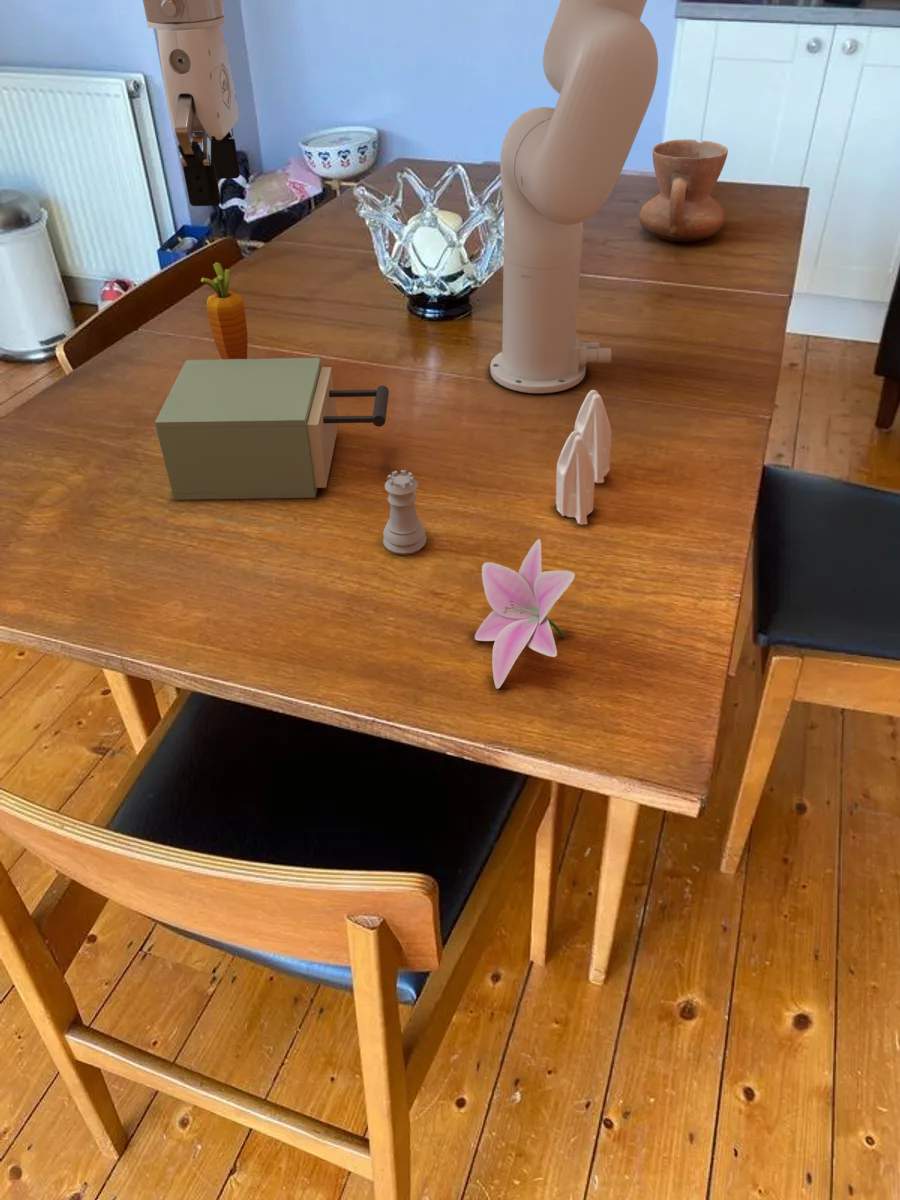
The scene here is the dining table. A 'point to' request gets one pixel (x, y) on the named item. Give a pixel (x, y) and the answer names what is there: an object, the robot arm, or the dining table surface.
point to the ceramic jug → (685, 191)
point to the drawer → (335, 421)
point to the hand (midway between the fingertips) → (216, 190)
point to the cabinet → (240, 429)
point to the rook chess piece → (403, 516)
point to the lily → (520, 610)
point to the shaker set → (584, 460)
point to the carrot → (227, 317)
